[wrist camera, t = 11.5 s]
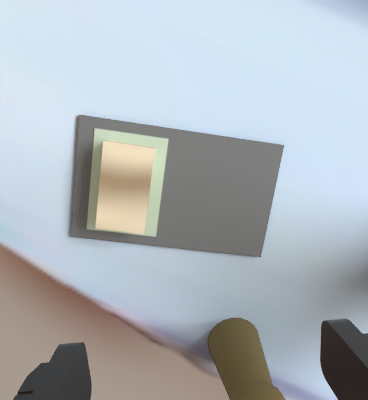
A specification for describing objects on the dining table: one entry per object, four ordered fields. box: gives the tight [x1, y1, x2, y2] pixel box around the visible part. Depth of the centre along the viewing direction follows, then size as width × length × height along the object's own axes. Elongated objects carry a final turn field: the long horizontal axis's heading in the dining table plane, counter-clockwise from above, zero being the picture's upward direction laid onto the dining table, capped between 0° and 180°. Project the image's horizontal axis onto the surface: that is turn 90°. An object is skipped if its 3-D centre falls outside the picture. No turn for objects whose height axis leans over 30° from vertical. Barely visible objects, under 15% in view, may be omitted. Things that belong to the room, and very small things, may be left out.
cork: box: [208, 318, 285, 400], centre depth 29 cm, size 6×6×11 cm
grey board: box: [71, 115, 284, 257], centre depth 30 cm, size 20×12×1 cm, turn 82°
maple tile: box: [95, 141, 155, 234], centre depth 28 cm, size 8×4×2 cm, turn 172°
